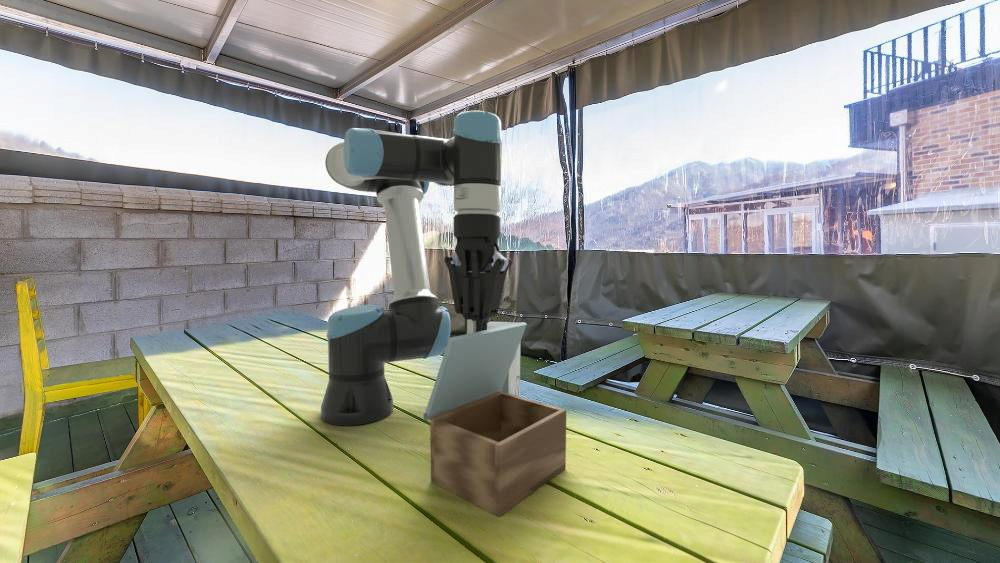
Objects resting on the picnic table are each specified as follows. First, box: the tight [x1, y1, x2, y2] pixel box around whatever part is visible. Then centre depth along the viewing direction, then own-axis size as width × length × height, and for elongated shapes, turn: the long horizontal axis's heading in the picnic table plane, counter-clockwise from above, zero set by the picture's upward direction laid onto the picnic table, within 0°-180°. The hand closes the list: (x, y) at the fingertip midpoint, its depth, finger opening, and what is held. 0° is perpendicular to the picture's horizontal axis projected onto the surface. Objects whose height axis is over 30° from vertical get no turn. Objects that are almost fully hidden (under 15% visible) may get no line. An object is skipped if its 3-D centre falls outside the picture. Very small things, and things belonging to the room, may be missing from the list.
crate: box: [429, 392, 567, 518], centre depth 70 cm, size 14×17×10 cm
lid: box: [422, 321, 528, 422], centre depth 72 cm, size 15×18×1 cm
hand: (475, 358), depth 72 cm, fingers closed
